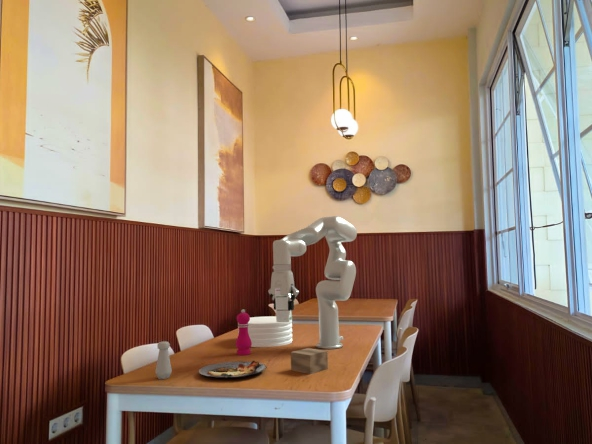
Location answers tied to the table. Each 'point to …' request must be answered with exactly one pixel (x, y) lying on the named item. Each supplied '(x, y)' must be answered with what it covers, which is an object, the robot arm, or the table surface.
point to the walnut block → (309, 360)
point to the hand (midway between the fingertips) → (283, 309)
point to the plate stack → (269, 332)
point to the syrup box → (282, 307)
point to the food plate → (233, 369)
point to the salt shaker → (163, 361)
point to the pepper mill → (243, 334)
